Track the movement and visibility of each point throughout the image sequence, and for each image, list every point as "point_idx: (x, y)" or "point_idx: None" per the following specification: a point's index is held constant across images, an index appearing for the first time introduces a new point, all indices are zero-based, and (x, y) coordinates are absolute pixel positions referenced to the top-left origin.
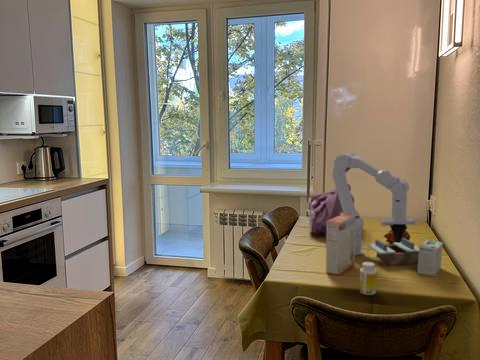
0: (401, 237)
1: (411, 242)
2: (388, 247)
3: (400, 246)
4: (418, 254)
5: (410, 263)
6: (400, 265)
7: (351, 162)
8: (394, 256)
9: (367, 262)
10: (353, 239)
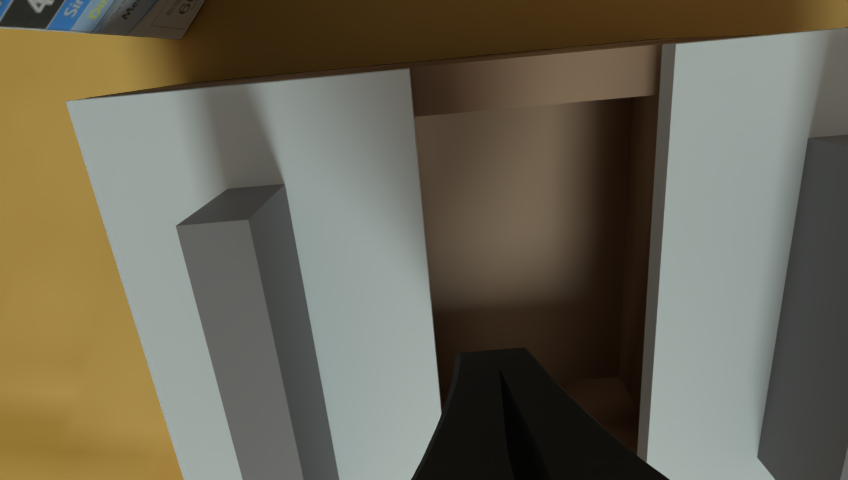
0: (457, 412)
1: (219, 302)
2: (661, 318)
3: (419, 354)
4: (194, 86)
5: (358, 67)
6: (505, 53)
7: None
8: (656, 42)
9: None
10: None
